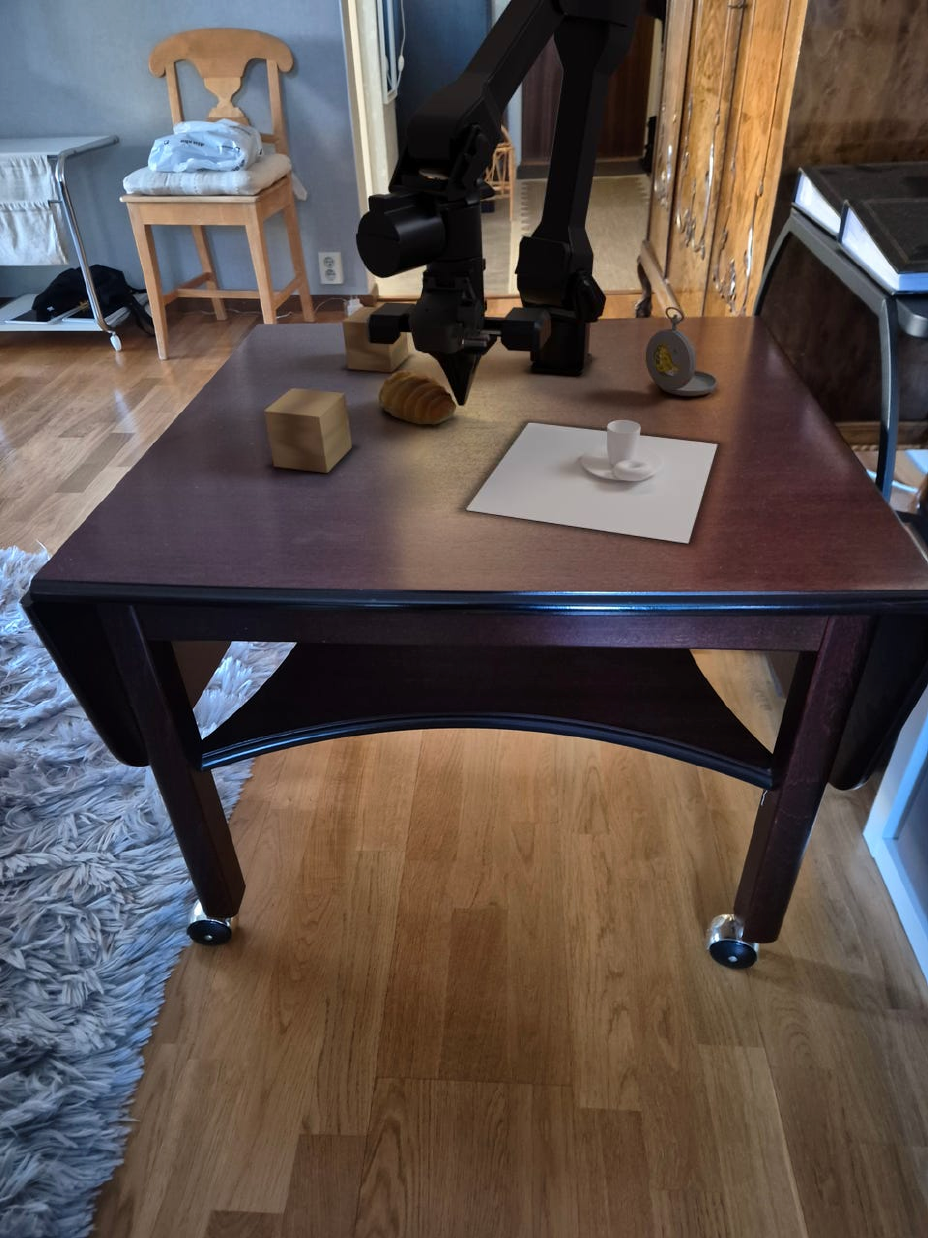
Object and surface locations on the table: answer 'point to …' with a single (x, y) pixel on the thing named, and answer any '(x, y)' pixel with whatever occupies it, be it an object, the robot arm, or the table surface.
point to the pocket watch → (676, 362)
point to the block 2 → (370, 345)
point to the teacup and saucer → (601, 480)
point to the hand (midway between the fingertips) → (462, 404)
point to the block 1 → (308, 429)
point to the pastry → (416, 398)
